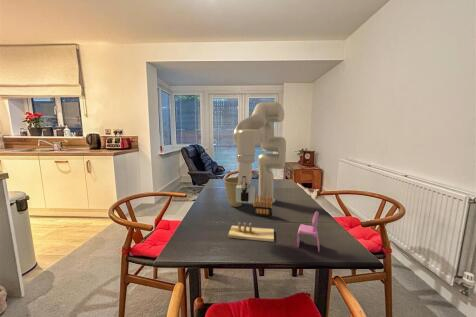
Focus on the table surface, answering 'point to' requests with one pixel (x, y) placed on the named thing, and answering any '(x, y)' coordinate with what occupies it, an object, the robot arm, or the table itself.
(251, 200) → the pale green notched block
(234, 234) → the board
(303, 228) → the toy chair
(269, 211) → the ammunition clip
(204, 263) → the table surface
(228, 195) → the plant pot
